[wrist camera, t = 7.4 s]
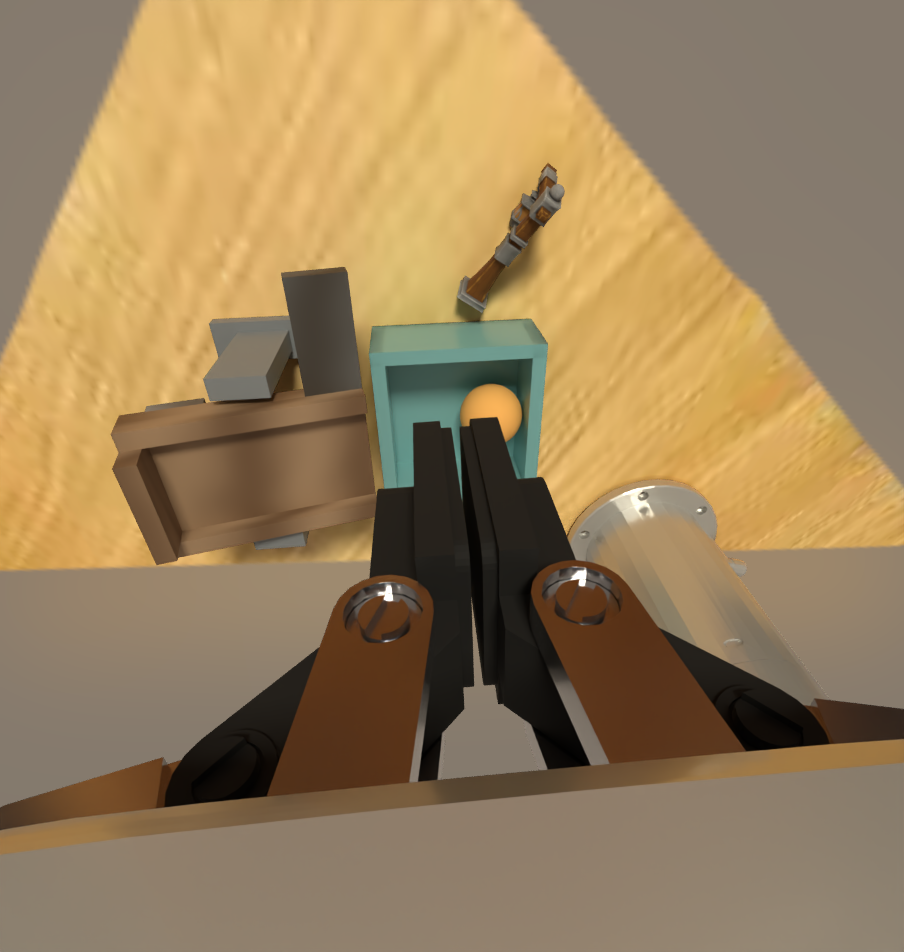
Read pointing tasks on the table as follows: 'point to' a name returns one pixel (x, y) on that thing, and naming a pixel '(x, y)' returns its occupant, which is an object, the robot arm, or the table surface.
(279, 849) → the robot arm
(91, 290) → the table surface
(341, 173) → the table surface
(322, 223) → the table surface
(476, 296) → the wooden post with brackets
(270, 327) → the lever stand
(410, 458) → the teal open box
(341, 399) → the lever
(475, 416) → the ball
